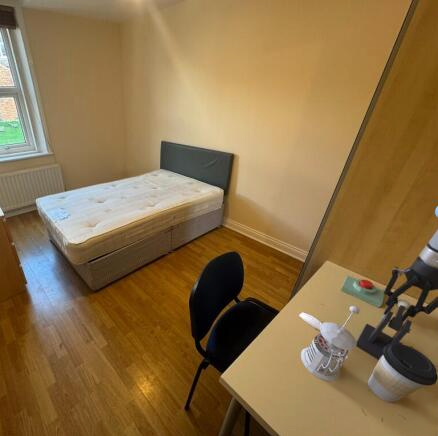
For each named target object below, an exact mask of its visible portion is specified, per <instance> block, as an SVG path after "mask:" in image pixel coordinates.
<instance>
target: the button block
mask: <svg viewBox="0 0 438 436" xmlns="http://www.w3.org/2000/svg"><path fill="white" fill-rule="evenodd" d="M361 280H362V279H361V278H360V279H359V278H358V279H357V278H355V277H352V276H350V275H346V277H345V279H344V281H343V283H342V285H341V288H340V291H341V292H343V293H345V294H348V295H350V296H352V297H355V298H357V299H359V300H361V301H363V302H365V303H367V304H370V305H372V306H374V307H376V308H378V309H380V308H381V306H382V305H383V302H384V298H385V294H384V291H385V289H381V288H379V287H376V286H375V284H373V287H372V288H371V289H365V288H363V287H362V286H360V282H361Z"/></svg>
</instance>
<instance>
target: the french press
mask: <svg viewBox="0 0 438 436" xmlns="http://www.w3.org/2000/svg"><path fill="white" fill-rule="evenodd" d="M349 311H350V312H351V313H350V315H349V316H348V318H347V319H346V321H345V323H344V324H343V325H339V324H338V323H334V322H329V321H328V322H322V323H323V324H321V326H320V330H319V331H320V333H318V334H317V335H315V336H314V338H313V339H312V342H311V343H310V344H309V346H308V347H305V348H303V349H302V350H301V353H300V359H301V362H302V364H303V365H304V367H305V369H307V370H308V372H310V374H312V375H313V376H315V377H316V378H318V379H320V380H323V381H326V382H335V381H337V380H338V379H339V377H340V373H341V372H340V368H341V366H343V364H344V362H345V361H346V360H347V359H348V353H349V351H353V350H355V349H356V348H357V346H356V345H357V340H356V338H355V336H354V335H353V334H352V333H351V332H350V331H349V330H348V329H346V328H345V326H346V325H347V323H348V322H349V320H350V319H351V317H352V316H353V314H355V315H357V314H360V308H359V307H357V306H355V305H351V306H350V307H349Z"/></svg>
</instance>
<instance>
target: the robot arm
mask: <svg viewBox="0 0 438 436" xmlns="http://www.w3.org/2000/svg"><path fill="white" fill-rule="evenodd" d="M434 210H435V211H434V214H435V216H436V217H437V218H438V205H437V206H436V208H435V209H434ZM403 275H404V276H405V279H406V281H405V282H403V284H401V285H400V286H399V287H398V288H396V289H395V290H394V291H392V290H393V287H394V285H395V283H396V282H397V280H398V278H399V277H402V276H403ZM412 287H415V288H418V289H420V290H421V292H420V294H419V296H418V299H417V301H416V304H415V305H414V304H410V308H409V309H408V310H405V312H403V315H402V317H401V320H402V321H404V322H406V321H407V320H408V318H409V317H410V318H412V319H414V318H415V317H416V316H417V315H418V314H419V313H424V314H426V315H430V314H431V313H433V312H434V311H435V310H436V309H437V308H438V295H437V296H436V297H435V298H434V299H432V300H431V301H430V302H429V303H427V305H426V306H424V303H425V301H426V299H427V297H428V295H429V293H430V291H437V290H438V229H436V232H434V234H433V236H432V237H431V239H430V240H429V241H428V242H427V244H425V246H424V248H423V249H422V250H421V252H420V253H419V255H418V256H417V257H416V259H414V261H413V263H412V264H411V265H410V266H409V267H407V268H404V269H403V268H399V267H398V266H394V267H393V268H392V269H391V278H390V280H389V282H388V283H387V285H386V287H385V288H384V296H387V297H388V298H387V299H386V301H385V302H384V305H385V306H387V307H386V308H385V309H384V312H383V315H384V316H385V315H386V314H387V313H388V311H391V310H392V309H393V308H394V307H395V306H396V302H397V300H399V297H400V296H401V295H403V294H404V293H405V292H406V291H408V290H409V289H411V288H412Z"/></svg>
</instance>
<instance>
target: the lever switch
mask: <svg viewBox="0 0 438 436" xmlns="http://www.w3.org/2000/svg"><path fill="white" fill-rule="evenodd" d="M395 306H396V307H397V311H396V314H395V316H392V317H391V320H390V321H389V323H388V324H387V327H388V328H390V329H391V330H394V331H395V332H397V331H399V329H400V328H401V327H402V325H403V324H404V323H405V321H402V320H401V317H402V316H403V314H404V313H405V312H404V311H407V310H408V309H409V308H410V306H411V304H410V302H409V301H407V300H406V299H398V300H397V302H396V304H395Z"/></svg>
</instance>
